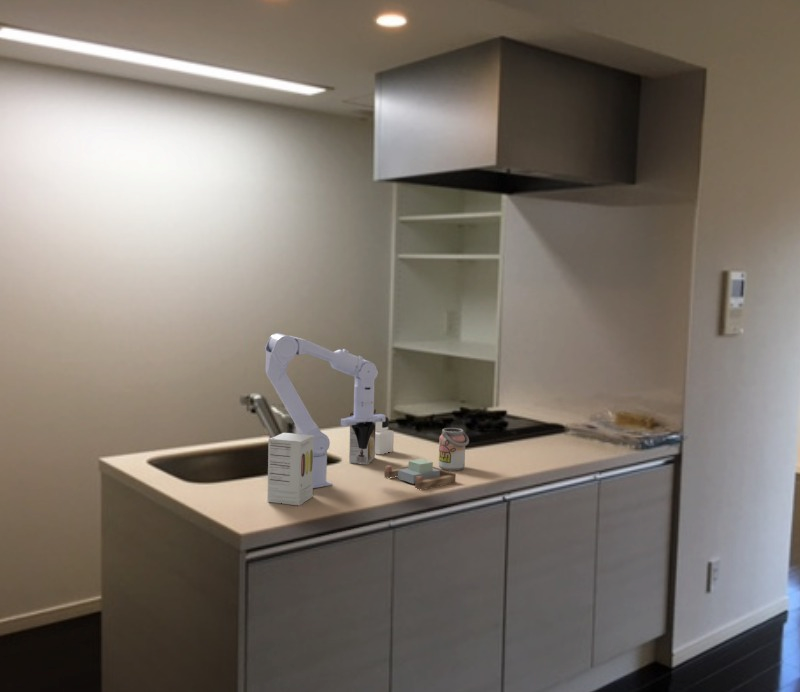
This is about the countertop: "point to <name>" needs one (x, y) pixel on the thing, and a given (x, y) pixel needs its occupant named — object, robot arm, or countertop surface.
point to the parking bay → (428, 483)
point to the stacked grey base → (418, 471)
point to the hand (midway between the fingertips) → (362, 448)
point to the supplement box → (290, 468)
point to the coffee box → (361, 454)
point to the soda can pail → (452, 449)
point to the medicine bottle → (383, 437)
